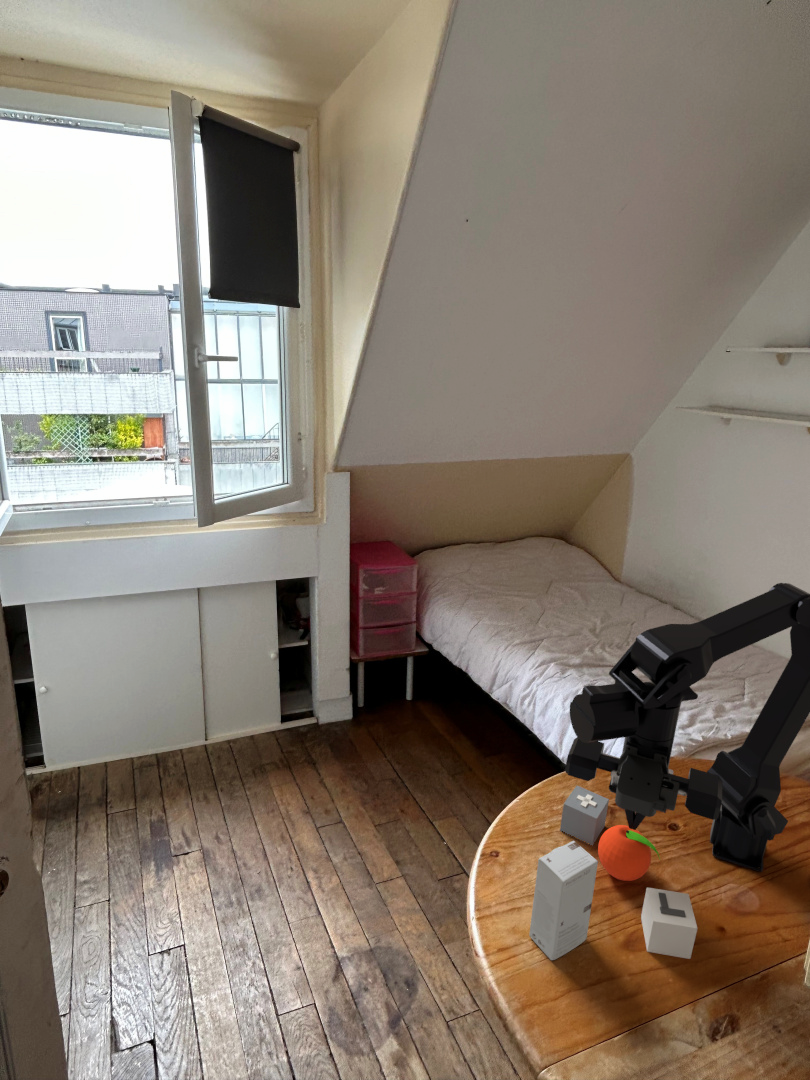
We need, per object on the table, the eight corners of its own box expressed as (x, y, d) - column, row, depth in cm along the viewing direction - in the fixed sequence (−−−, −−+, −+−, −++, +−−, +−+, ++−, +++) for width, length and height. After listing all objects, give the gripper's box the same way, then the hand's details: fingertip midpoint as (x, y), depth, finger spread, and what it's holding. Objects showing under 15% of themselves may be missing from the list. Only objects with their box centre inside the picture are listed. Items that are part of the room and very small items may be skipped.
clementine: (659, 867, 95) (667, 827, 93) (650, 904, 89) (659, 861, 87) (601, 846, 99) (607, 806, 96) (589, 880, 93) (596, 838, 90)
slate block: (604, 826, 103) (609, 798, 101) (592, 846, 99) (596, 817, 97) (572, 811, 105) (576, 784, 103) (559, 831, 101) (563, 802, 100)
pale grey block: (681, 924, 87) (688, 892, 85) (690, 959, 82) (697, 927, 80) (640, 917, 88) (646, 886, 86) (646, 952, 83) (653, 919, 81)
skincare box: (552, 963, 81) (564, 884, 77) (526, 935, 84) (536, 858, 80) (588, 939, 84) (601, 862, 80) (562, 912, 88) (573, 837, 84)
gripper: (562, 741, 83) (548, 843, 88) (730, 790, 75) (704, 898, 81) (581, 696, 92) (568, 791, 98) (732, 736, 85) (709, 835, 90)
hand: (632, 827), depth 91 cm, fingers closed
